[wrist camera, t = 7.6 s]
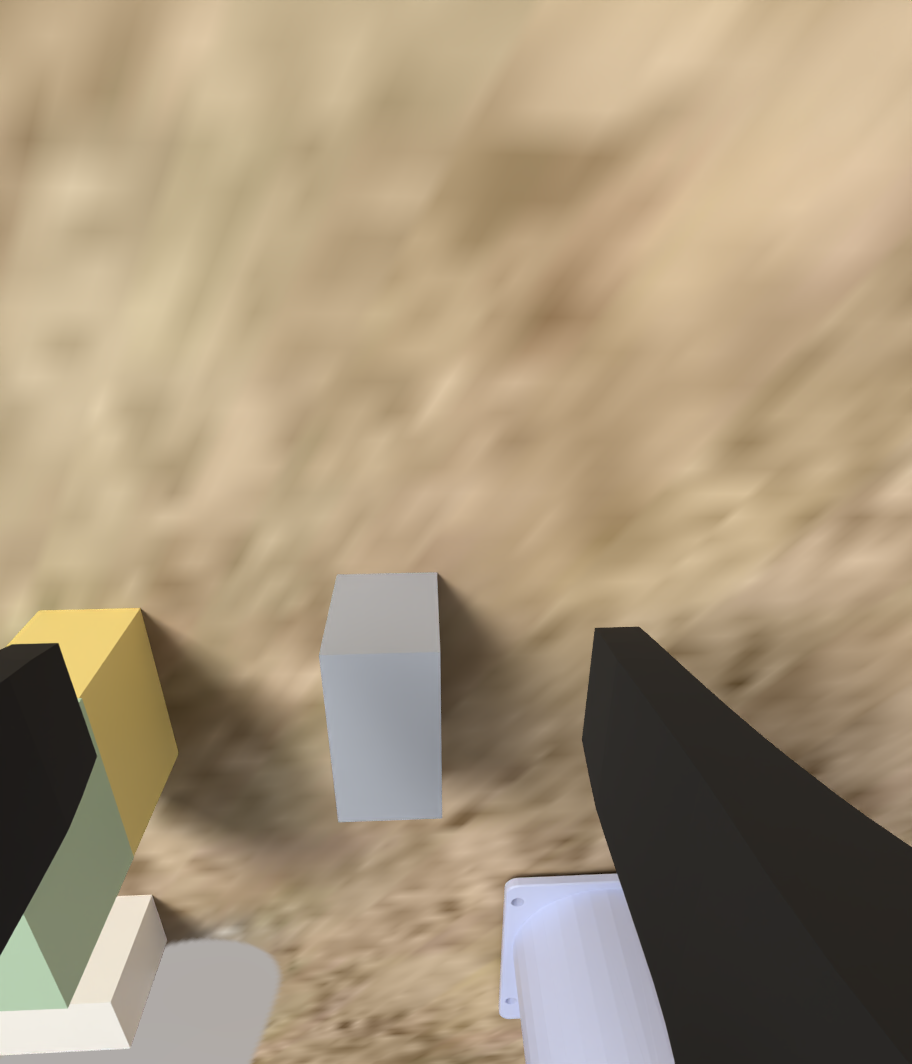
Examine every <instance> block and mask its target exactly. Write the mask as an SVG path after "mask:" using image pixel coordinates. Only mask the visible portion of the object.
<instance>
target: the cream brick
mask: <svg viewBox="0 0 912 1064" xmlns="http://www.w3.org/2000/svg"><path fill="white" fill-rule="evenodd" d="M166 943H167V938H166V935H165V932H164V929H163V926H162V923H161V920H160V917H159V914H158V911H157V908H156V905H155V902H154V899H153V896H152V895H136V896H117V897H116V899H115V902H114V904H113V906H112V909H111V911H110V913H109V915H108V918H107V920H106V922H105V925H104V927H103V929H102V932H101V934H100V936H99V938H98V941H97V943H96V945H95V948H94V950H93V952H92V954H91V957H90V959H89V961H88V964H87V966H86V968H85V970H84V973H83V975H82V977H81V980H80V982H79V984H78V987H77V989H76V991H75V993H74V996H73V998H72V1000H71V1003H70V1005H69V1007H68V1009H44V1010H21V1011H0V1055H15V1054H34V1053H54V1052H73V1051H92V1050H111V1049H130V1048H131V1045H132V1042H133V1040H134V1037H135V1034H136V1031H137V1028H138V1025H139V1022H140V1019H141V1016H142V1013H143V1010H144V1007H145V1004H146V1001H147V998H148V995H149V993H150V990H151V986H152V984H153V981H154V978H155V975H156V972H157V969H158V966H159V963H160V960H161V957H162V955H163V952H164V949H165V946H166Z"/></svg>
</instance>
